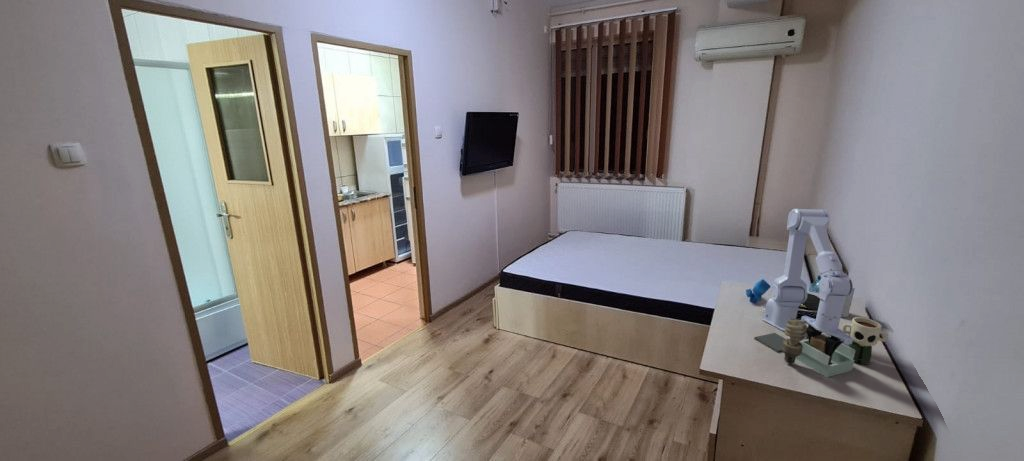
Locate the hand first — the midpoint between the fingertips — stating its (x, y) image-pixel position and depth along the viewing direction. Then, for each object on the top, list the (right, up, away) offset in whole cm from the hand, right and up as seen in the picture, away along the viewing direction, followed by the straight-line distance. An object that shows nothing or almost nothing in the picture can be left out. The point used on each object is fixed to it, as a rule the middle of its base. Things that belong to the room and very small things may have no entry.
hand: (820, 353), depth 133 cm
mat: (-7, 0, +11) cm, 13 cm away
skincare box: (+29, +6, +32) cm, 44 cm away
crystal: (+4, +9, +43) cm, 44 cm away
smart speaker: (+22, +8, +38) cm, 45 cm away
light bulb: (-10, -3, 0) cm, 10 cm away
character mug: (+13, -3, +2) cm, 13 cm away
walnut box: (0, -3, +1) cm, 3 cm away
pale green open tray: (0, -3, +1) cm, 3 cm away
